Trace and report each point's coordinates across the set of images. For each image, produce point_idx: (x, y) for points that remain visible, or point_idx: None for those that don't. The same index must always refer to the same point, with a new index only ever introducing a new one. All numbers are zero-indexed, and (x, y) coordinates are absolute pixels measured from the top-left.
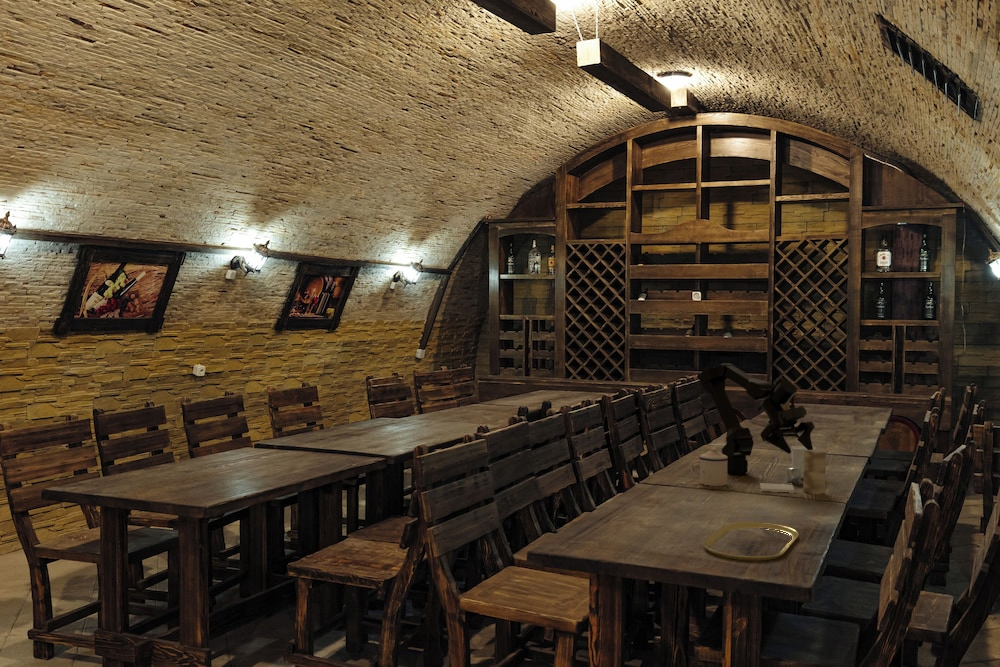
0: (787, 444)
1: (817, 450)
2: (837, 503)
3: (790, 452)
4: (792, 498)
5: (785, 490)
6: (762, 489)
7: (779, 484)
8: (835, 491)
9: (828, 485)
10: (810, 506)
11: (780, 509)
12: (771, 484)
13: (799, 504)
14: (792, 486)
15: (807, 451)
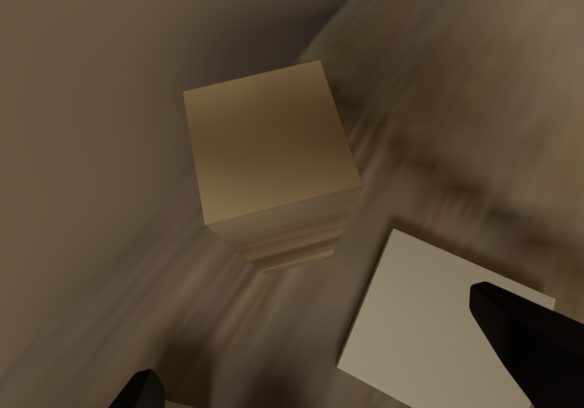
0: (568, 344)
1: (216, 165)
2: (311, 53)
3: (478, 285)
4: (444, 145)
5: (433, 247)
6: (545, 295)
7: (410, 388)
8: (177, 242)
9: (106, 390)
10: (432, 28)
11: (559, 5)
12: (458, 398)
13: (459, 56)
14: (360, 318)
15: (348, 143)
